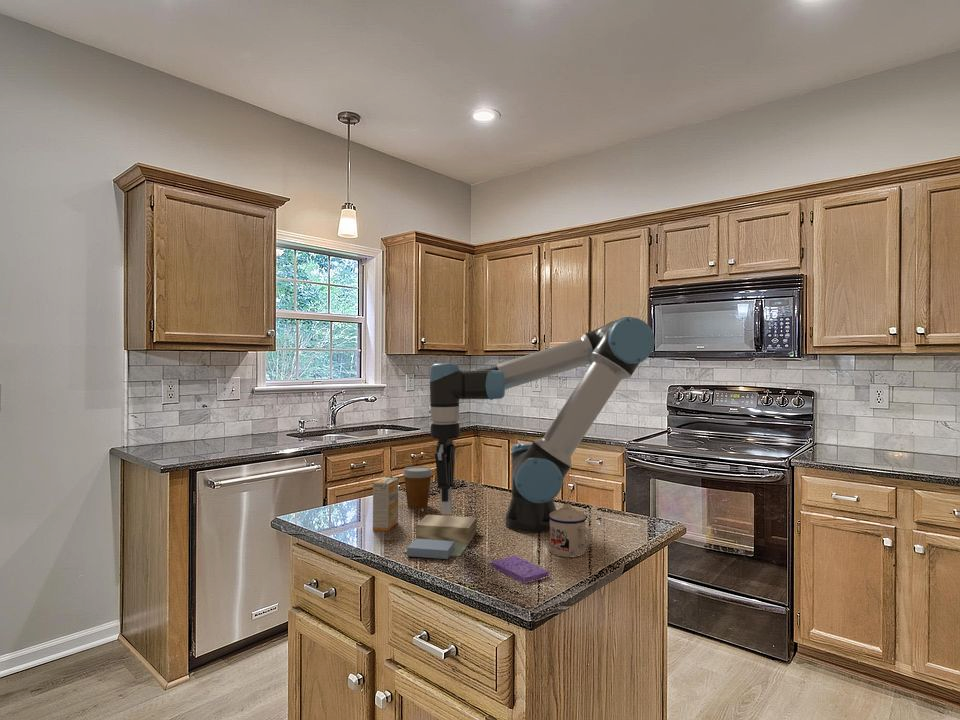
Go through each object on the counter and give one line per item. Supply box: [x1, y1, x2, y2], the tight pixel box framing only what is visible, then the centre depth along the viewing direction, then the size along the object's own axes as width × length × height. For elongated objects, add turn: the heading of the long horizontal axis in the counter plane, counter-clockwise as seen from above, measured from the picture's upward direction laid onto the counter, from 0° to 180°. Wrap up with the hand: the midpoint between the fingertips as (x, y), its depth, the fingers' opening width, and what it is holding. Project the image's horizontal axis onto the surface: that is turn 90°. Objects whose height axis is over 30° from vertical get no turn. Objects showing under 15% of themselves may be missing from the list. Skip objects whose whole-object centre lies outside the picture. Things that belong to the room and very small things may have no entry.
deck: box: [415, 514, 478, 544], centre depth 153 cm, size 14×10×4 cm
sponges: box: [490, 554, 550, 584], centre depth 128 cm, size 7×13×2 cm, turn 33°
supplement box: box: [372, 477, 399, 532], centre depth 162 cm, size 8×5×13 cm, turn 168°
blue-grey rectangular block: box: [406, 538, 455, 560], centre depth 139 cm, size 10×7×2 cm
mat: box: [403, 542, 470, 558], centre depth 143 cm, size 14×10×1 cm
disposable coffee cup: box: [402, 465, 433, 510], centre depth 184 cm, size 10×10×12 cm
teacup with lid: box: [549, 503, 593, 558], centre depth 140 cm, size 12×9×12 cm
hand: (446, 512), depth 150 cm, fingers closed
